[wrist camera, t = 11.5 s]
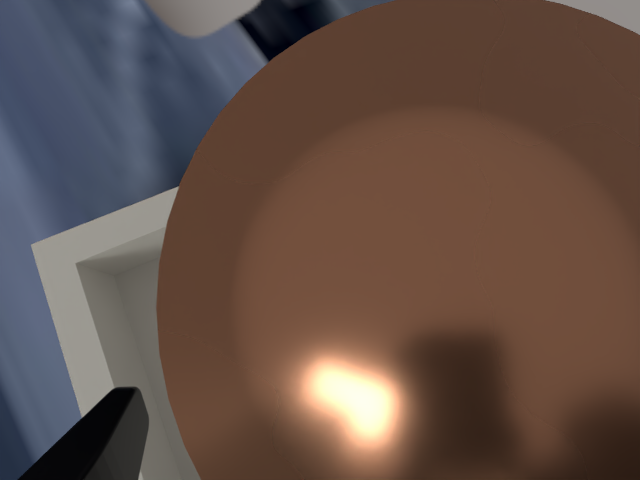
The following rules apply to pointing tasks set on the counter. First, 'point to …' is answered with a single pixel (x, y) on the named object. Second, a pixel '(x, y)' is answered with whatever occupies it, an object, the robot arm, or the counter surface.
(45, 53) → the counter surface
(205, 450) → the metal pin
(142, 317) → the tray
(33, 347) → the counter surface
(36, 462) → the robot arm
